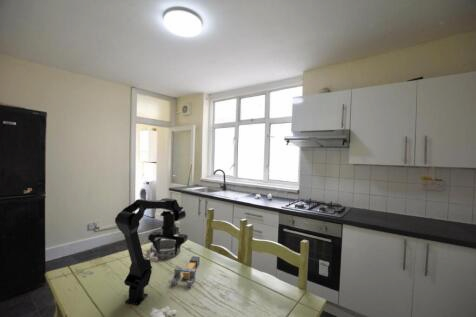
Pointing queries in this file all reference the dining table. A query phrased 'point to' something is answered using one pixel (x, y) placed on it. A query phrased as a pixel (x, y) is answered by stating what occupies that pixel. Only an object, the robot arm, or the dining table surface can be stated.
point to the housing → (177, 276)
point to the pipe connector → (150, 256)
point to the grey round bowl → (165, 253)
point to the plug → (191, 266)
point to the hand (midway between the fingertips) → (167, 254)
